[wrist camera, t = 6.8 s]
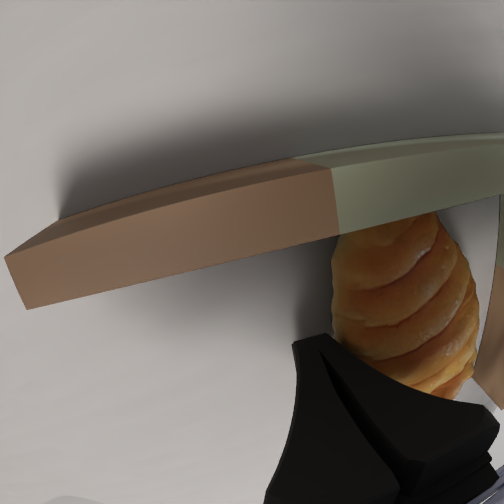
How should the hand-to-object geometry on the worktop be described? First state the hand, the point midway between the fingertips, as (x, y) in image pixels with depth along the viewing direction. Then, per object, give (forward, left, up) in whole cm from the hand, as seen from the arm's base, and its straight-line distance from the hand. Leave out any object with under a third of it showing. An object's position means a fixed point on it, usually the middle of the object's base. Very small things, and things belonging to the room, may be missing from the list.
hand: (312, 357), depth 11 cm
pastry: (0, -4, -2) cm, 4 cm away
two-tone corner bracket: (0, -2, -1) cm, 2 cm away
